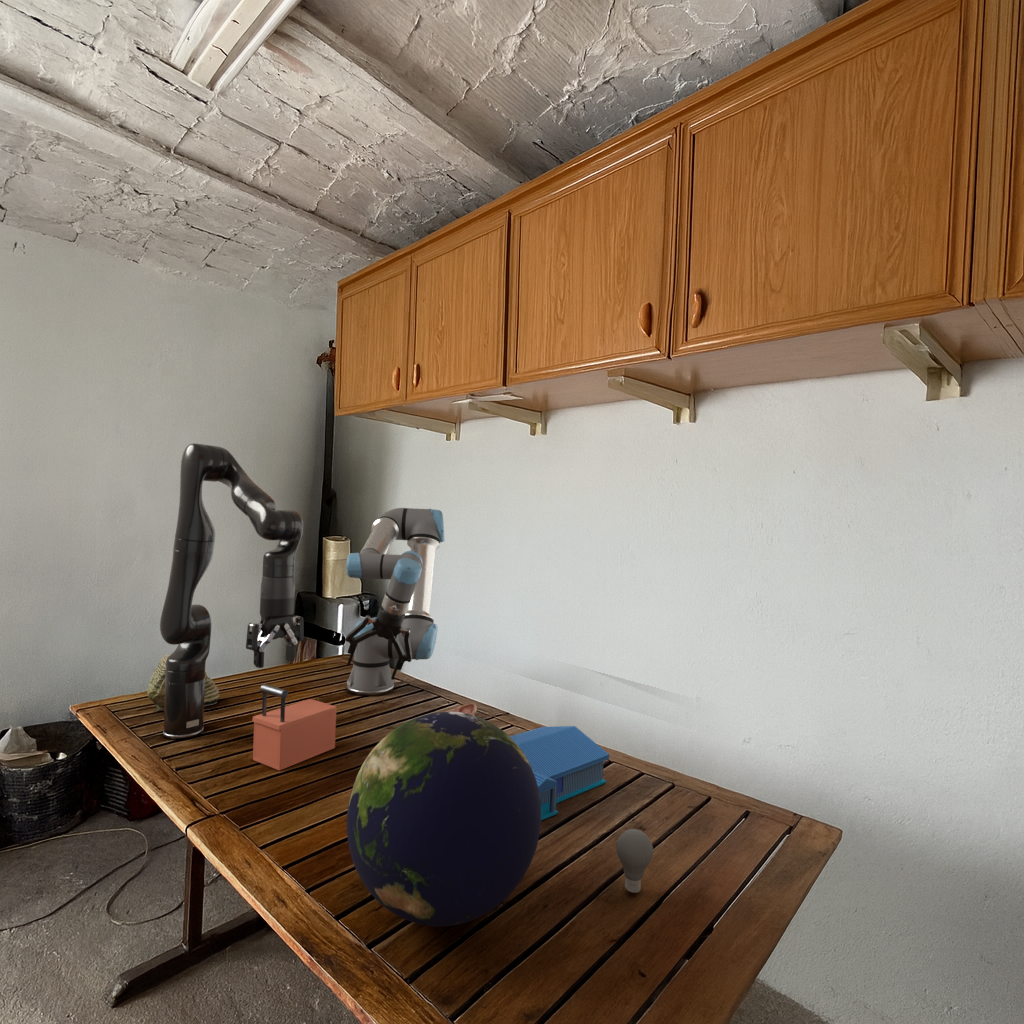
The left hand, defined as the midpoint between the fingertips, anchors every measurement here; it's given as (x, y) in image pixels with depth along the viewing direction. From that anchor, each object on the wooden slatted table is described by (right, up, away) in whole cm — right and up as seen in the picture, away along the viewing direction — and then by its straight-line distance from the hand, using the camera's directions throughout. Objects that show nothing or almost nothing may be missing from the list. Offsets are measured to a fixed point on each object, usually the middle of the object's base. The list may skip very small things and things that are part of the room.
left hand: (275, 663), depth 149 cm
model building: (+57, -26, -9) cm, 63 cm away
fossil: (-40, -21, +36) cm, 58 cm away
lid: (+3, -14, +6) cm, 16 cm away
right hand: (+13, -12, +41) cm, 44 cm away
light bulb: (+76, -28, -43) cm, 92 cm away
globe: (+45, -27, -50) cm, 72 cm away
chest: (+3, -24, +6) cm, 24 cm away
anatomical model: (+38, -25, +34) cm, 57 cm away
